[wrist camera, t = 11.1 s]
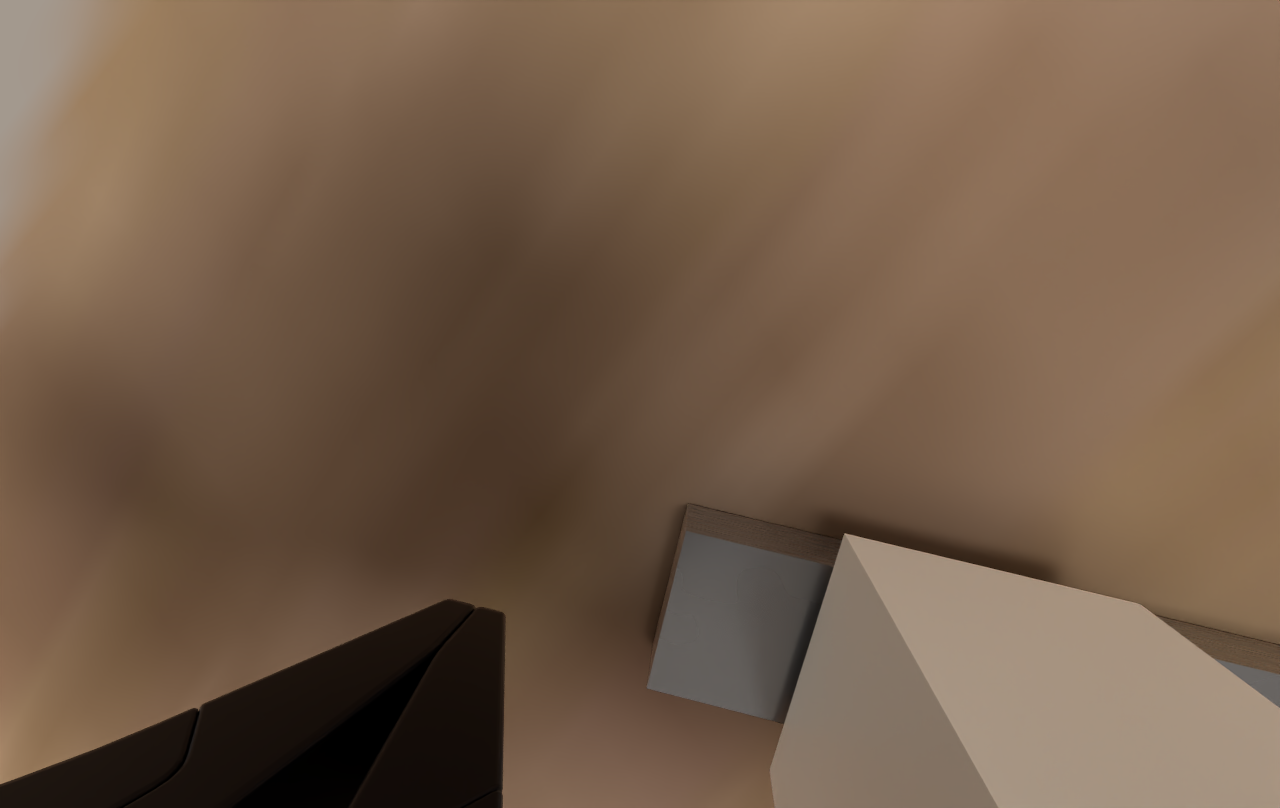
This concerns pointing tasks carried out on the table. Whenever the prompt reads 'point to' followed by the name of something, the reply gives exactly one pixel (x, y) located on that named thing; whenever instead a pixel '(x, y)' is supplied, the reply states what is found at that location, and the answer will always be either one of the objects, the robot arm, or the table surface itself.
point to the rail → (799, 617)
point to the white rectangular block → (1010, 698)
